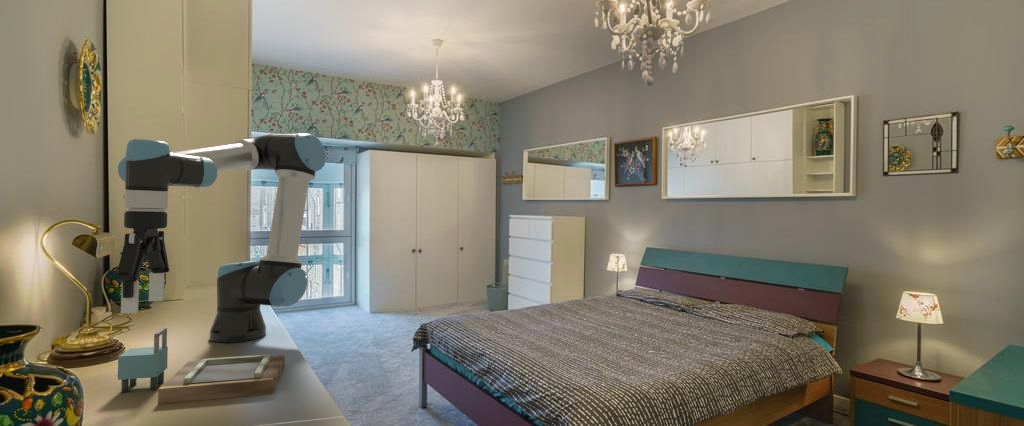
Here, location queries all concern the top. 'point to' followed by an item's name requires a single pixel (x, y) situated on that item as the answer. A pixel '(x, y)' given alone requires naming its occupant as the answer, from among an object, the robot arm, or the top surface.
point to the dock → (223, 378)
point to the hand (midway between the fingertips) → (143, 306)
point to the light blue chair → (144, 363)
